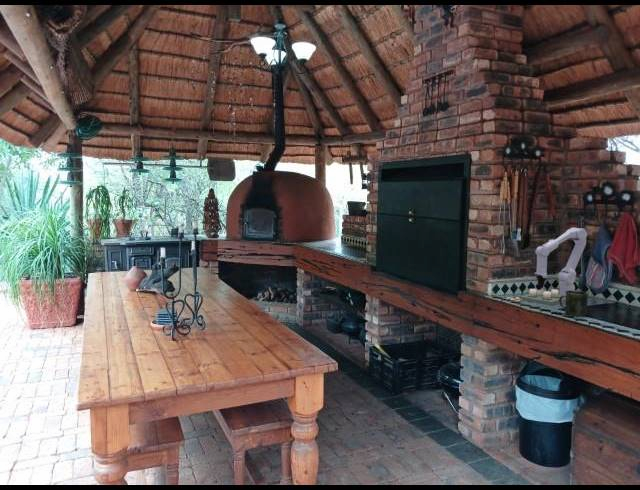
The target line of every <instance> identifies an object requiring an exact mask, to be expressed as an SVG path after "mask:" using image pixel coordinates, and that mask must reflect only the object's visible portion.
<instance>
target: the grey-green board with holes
mask: <svg viewBox="0 0 640 490" xmlns="http://www.w3.org/2000/svg"><path fill="white" fill-rule="evenodd" d="M560 297H561V296H559V295H558V298H552V297H551V300H545V299H543V296H539V295H537V292H536V297H529V293H528V294H524V295H523V294H522V295H520V296H519V299H523V300H522V301H525V302H526V301H527V302H530V303H537V304H543V305H548V306H553V305H556V304H557V305H558V304H560V303H559V298H560ZM561 303H566V297H564V298H562V299H561Z"/></svg>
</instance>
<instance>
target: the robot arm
mask: <svg viewBox="0 0 640 490" xmlns="http://www.w3.org/2000/svg"><path fill="white" fill-rule="evenodd" d="M587 237H588V233H587V230H586V229H585V228H580V227H571V228H569V229H567V230H566V231H565V232H564V233H562V234H561V235H560V236H558V237H557V238H556V239H549V240H548V241H547V242H546V243H544V244H542V245H539V246H537V247H536V249H535V251H534V252H535V254H536V270H535V271H536V272H534V275H535V278H536V279H537V284H538V287H539V288H541V289H542V288H544V286H545V282H546V280H547V278H548V276H547V275H548V273H547V271H548V270H547V269H548V257H549V255H550V253H551V252H553V251H554V250H555V249H557V248H558V247H559V245H560V244H562V243H563V242H565V241H568V240H569V239H572V240H573V242H574V244H575V245H574V247H573V249H572V252H571V253H570V255H569V258H568V260H567V263H566V265H565V266H564V267H563V268H562V269H561V271H560V272H559V273H558V275H557V279H558V282H559V289H558V290H559V292H558V296H566V292H565V291H569V290H575V289H576V286H575V284H574V283H575V281H576V276H577V272H576V268H577V266H578V263H579V261H580V259H581V256H582V254H583V252H584V250H585V248H586V246H587Z"/></svg>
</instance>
